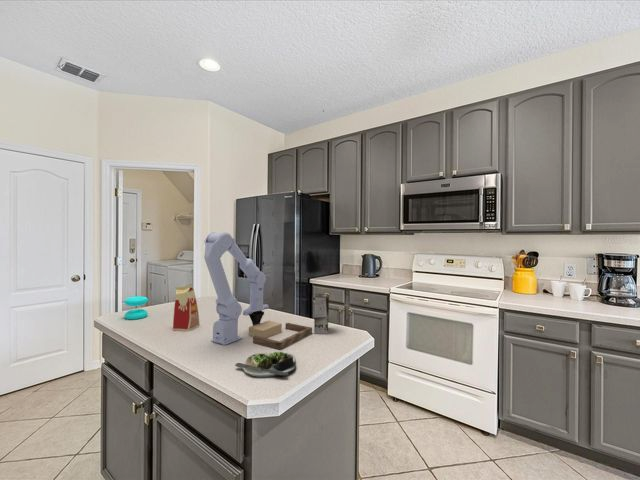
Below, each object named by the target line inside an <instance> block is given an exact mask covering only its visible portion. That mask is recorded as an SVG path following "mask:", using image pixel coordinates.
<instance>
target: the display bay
mask: <svg viewBox="0 0 640 480" xmlns="http://www.w3.org/2000/svg"><path fill="white" fill-rule="evenodd" d="M284 326H285V330H289V331H294V332H296V333H294V334H292V335H290V336H288V337H285V338H283V339H281V340H280V341H278V340H274V339H270V338H263V337H259V336H253V337H252V343H253V344H257V345H260V346H263V347H267V348H271V349H273V350H274V349H275V350H279V351H281V350H283V349H285V348H287V347H288V346H290V345H293V344H294V343H296V342H298V341H300V340H302V339H304V338H306V337H307V336H309V335H312V333H313V327H310V326H305V325H300V324H297V323H296V324H295V323H291V322H285V325H284Z"/></svg>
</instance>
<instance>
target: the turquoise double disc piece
mask: <svg viewBox="0 0 640 480" xmlns="http://www.w3.org/2000/svg"><path fill="white" fill-rule="evenodd" d="M148 301H149V298H148V297H146V296H141V295H139V296H131V297H130V296H129V297H127V298H125V300H124V304H125V305H127V306H129V307H139V306H143V305H145V304H147V302H148ZM147 316H148V311H147V310H146V309H143V308H137V309H136V308H135V309H131V310H128V311H126V312H125V314H124V318H125V319H126V320H141V319H144V318H146V317H147Z"/></svg>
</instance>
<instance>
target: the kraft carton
mask: <svg viewBox="0 0 640 480" xmlns="http://www.w3.org/2000/svg"><path fill="white" fill-rule="evenodd" d="M282 331H283V329H282V323H281V322H280V323H279V322H275V321H271V320H266V321H263V322H260V324H257V325H254V326H253V325H251V326H249V327H248V337H252V338H253V336H259V337H263V338H267V339H269V338H270V337H272V336H275V335H278V334H279V333H282Z"/></svg>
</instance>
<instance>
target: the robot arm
mask: <svg viewBox="0 0 640 480" xmlns="http://www.w3.org/2000/svg"><path fill="white" fill-rule="evenodd" d="M204 245H205V247H204V255H203V259H204V261H205V263H206V267H207V269H208V272H209V276H210V278H211V282H212V284H213V287H214V289H215V293H216V296H217V298H216V299H215V304H216V306H215V310H216V313H217V314H218V318H219V319H218V320H217V321H215V322H213V326H212V339H211V342H213V343H216V344H221V345H223V346H226V345H229V344H230V343H231V344H232V343H233V342H237V341H239V340H241V339H243V336H239V334H238V330H239V329H238V328H239V325H238V324H239V318H240V316H241V314H242V315H243V316H246V317H247V316H249V318H250V320H251V323H252V326H254V325H257V324H260V323H261V321H262V318H263V317H264V315H265V310H269V308H270V307H269V304H267V303H266V304H264V287H265V283H266V281H267V276H266V275H265V272H263V271H260V268H259V267H257V265H256V264H255V261H254V260H253V259H251V258H247V257H246V256H245V254H244V253H243V251H242V250H241V249H240V247H239V246H238V245H237V243H236V240H235V239H234V237H232V235H231V234H230V233H228V232H210V233H209V234H207V236H206V238H205V240H204ZM226 252H228V253H229V254H230V255H231V256H232V257H233V258H234V259H235V260H236V262H238V263H239V269H240V270H241V271H242V272H243V273H244V274H245V276H246V279H247V282H249V306H248V308H246V309H245V310H243V307H242V305H241V304H240V303H239V301H238V299H237V298H236V297H235V295H233V294H232V291H231V287H230V284H229V282H228V279H227V275H226V272H225V269H224V265H223V263H222V260H221V258H222V256H223V255H224V254H225V253H226Z"/></svg>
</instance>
